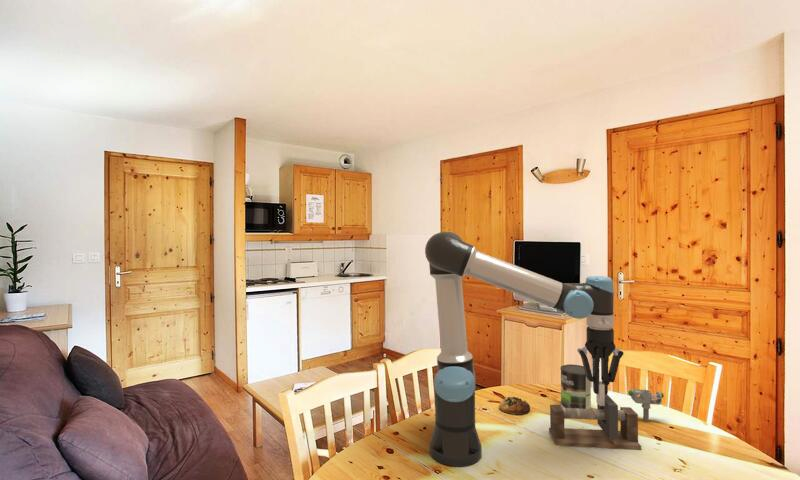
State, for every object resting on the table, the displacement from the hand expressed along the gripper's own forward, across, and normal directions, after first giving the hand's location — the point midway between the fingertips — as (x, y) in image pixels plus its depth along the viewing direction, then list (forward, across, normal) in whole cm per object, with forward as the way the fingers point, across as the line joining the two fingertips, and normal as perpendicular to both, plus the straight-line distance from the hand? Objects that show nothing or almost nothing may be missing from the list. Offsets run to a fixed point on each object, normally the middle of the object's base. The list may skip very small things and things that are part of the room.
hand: (600, 403), depth 125 cm
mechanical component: (+12, +20, +15) cm, 27 cm away
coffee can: (+12, 0, +24) cm, 27 cm away
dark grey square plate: (+8, +2, 0) cm, 9 cm away
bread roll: (+12, -23, +21) cm, 33 cm away
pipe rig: (+11, -2, 0) cm, 12 cm away
